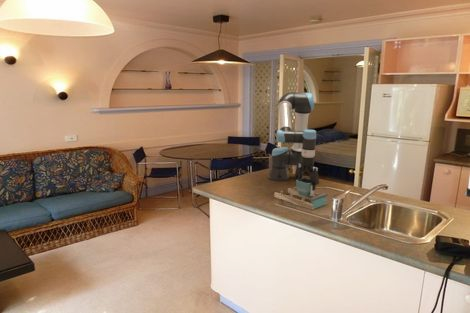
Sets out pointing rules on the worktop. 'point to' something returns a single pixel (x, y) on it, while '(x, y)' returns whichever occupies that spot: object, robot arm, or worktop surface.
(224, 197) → the worktop surface
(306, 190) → the flower pot
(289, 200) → the guide rails
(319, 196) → the teal flat block
